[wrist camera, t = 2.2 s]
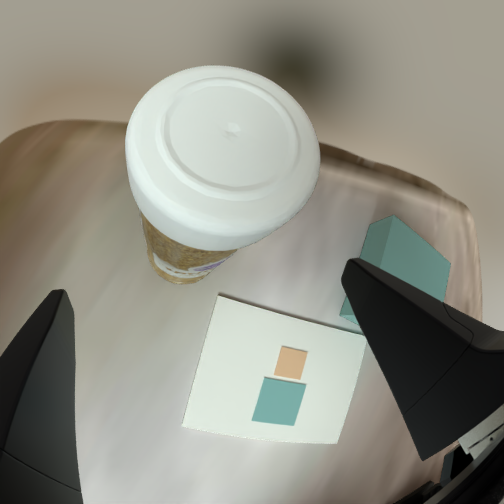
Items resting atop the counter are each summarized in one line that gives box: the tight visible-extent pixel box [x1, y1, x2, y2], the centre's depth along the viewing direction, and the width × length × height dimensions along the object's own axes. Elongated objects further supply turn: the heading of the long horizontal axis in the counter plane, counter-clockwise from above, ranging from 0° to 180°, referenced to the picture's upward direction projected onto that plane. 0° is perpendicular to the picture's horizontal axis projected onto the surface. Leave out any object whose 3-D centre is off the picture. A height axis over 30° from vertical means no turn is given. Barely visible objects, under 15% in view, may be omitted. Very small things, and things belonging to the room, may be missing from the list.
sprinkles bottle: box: [125, 66, 320, 284], centre depth 12 cm, size 5×5×13 cm
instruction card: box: [182, 296, 367, 444], centre depth 19 cm, size 9×12×1 cm
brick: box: [340, 215, 451, 325], centre depth 21 cm, size 8×8×3 cm
